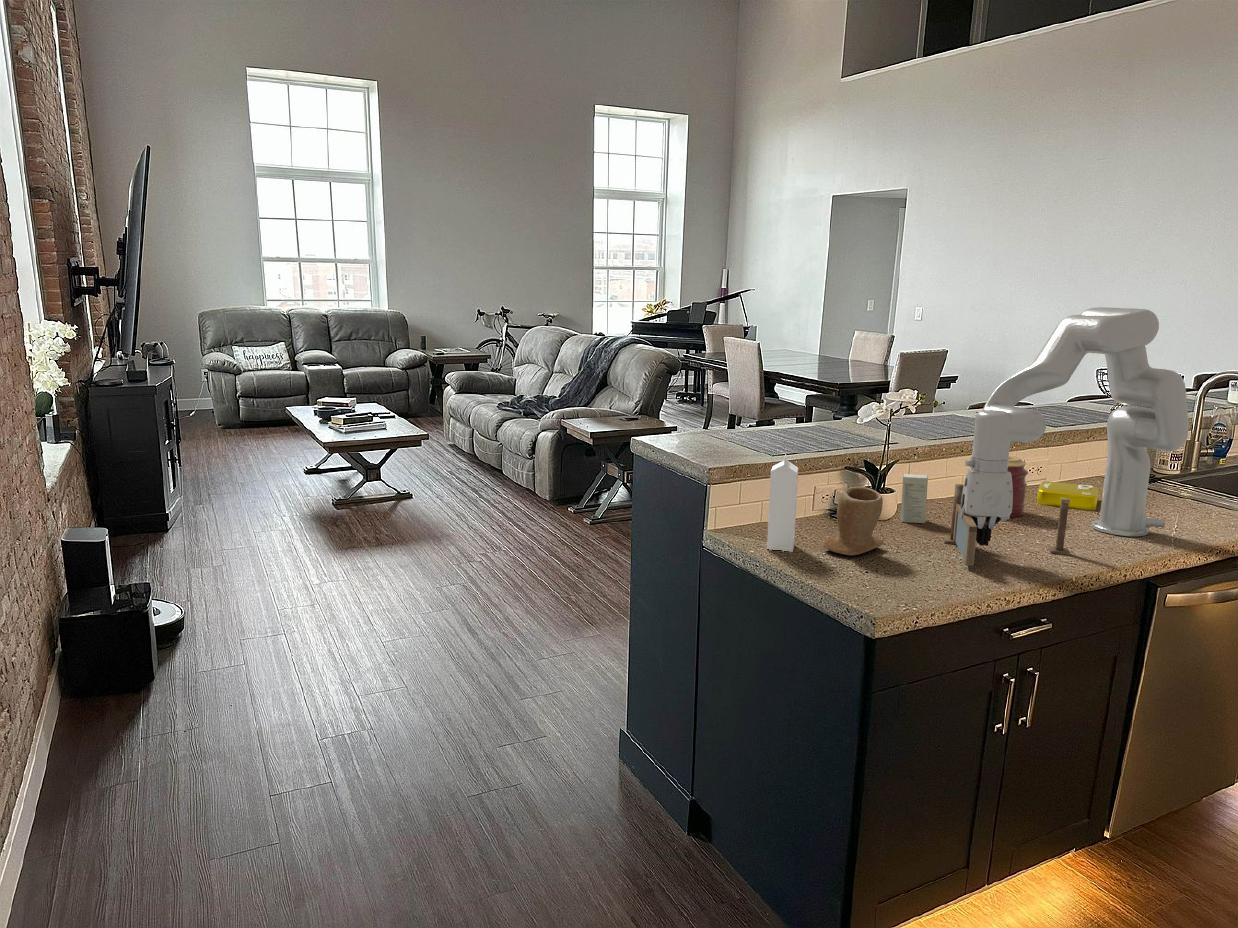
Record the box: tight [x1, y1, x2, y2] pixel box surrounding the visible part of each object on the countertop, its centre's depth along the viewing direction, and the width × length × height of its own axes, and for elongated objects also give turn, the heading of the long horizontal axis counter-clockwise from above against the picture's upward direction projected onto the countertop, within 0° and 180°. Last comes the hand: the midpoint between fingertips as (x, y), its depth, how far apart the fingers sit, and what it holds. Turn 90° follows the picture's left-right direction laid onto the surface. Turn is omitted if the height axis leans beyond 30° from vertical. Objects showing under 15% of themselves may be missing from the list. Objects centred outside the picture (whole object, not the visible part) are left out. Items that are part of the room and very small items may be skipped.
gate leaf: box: [953, 504, 977, 567], centre depth 193 cm, size 20×2×9 cm, turn 166°
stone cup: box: [822, 486, 885, 556], centre depth 196 cm, size 15×12×15 cm
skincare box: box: [900, 473, 929, 524], centre depth 222 cm, size 6×4×12 cm
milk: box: [766, 453, 799, 553], centre depth 197 cm, size 6×6×22 cm
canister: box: [1007, 454, 1029, 518], centre depth 231 cm, size 13×13×18 cm
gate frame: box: [943, 483, 1071, 556], centre depth 200 cm, size 27×5×14 cm, turn 71°
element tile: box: [1036, 480, 1099, 511], centre depth 244 cm, size 15×15×5 cm
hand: (982, 543), depth 194 cm, fingers closed
